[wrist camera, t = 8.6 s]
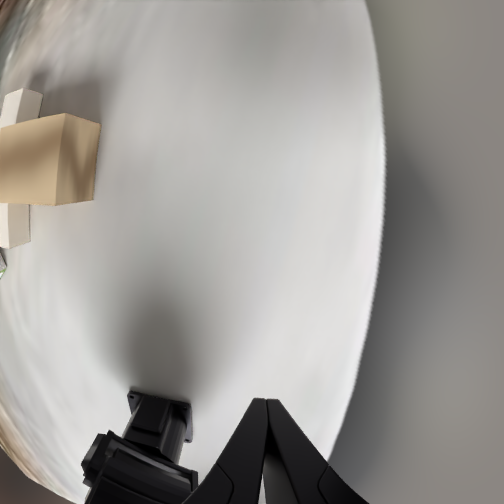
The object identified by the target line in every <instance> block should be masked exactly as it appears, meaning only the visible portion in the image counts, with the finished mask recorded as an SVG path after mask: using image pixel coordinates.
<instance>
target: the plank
mask: <svg viewBox="0 0 504 504" xmlns="http://www.w3.org/2000/svg"><path fill="white" fill-rule="evenodd" d="M42 98H43V94H41V93H38V92H35V91H32V90H29V89H26V88H22V89H19V90H16V91H14V92H12V93H9V94H7V95H6V96H5V100H4V104H3V108H2V113H1V118H0V129H1V128H2V127H6V126H9V125H13V124H17V123H21V122H24V121H29V120H33V119H37V118H38V116H39V111H40V107H41V102H42ZM28 242H30V229H29V204H12V203H0V247H3V248H8V249H11V248H13V247H16V246H19V245H22V244H25V243H28Z"/></svg>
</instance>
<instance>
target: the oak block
mask: <svg viewBox="0 0 504 504" xmlns="http://www.w3.org/2000/svg"><path fill="white" fill-rule="evenodd" d="M100 131H101V124H98V123H95V122H92V121H89V120H86V119H83V118H80V117H77V116H74V115H71V114H68V113H62V114H57V115H52V116H47V117H42V118H37V119H33V120H29V121H24V122H21V123H17V124H13V125H9V126H6V127H2V128H1V129H0V203H12V204H33V205H51V206H57V205H63V204H70V203H77V202H83V201H91V200H93V193H94V180H95V169H96V160H97V152H98V144H99V137H100Z"/></svg>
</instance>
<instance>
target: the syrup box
mask: <svg viewBox="0 0 504 504" xmlns="http://www.w3.org/2000/svg"><path fill="white" fill-rule="evenodd" d="M5 270H6V265H5V262H4V260H3V258H2V256H1V253H0V279H1V277H2V275H3V273H4V272H5Z"/></svg>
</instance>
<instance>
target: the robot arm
mask: <svg viewBox="0 0 504 504" xmlns="http://www.w3.org/2000/svg"><path fill="white" fill-rule="evenodd" d="M127 397H128V402H129V406H130V410H131V414H132V416H131V418H130V420H129V422H128V424H127V426H126V428H125V431H124V433H123V435H122V437H119V436H117V435H116V434H114V432H112V431H111V430H109V431H108V433H107V435H106V434H99V433H98V435H97V436H96V438H95V440H94V442H93V444H92V446H91V447H90V449H89V451H88V452H87V454H86V456H85V457H84V459H83V461H82V463H81V466H82V468H83V471H84V474H83V476H85V479H84V481H83V484H85V485H87V486H89V487H90V489H89V491H88V493H87V495H86V498H85V503H84V504H258V500H259V494H260V487H261V480H262V473H263V480H264V489H265V497H266V504H369V503H368V502H367V501H365V500H364V499H363V498H362V497H361V496H359V495H358V494H357V493H356V492H355V491H354V490H353V489H351V488H350V487H349V486H348V485H347V484H346V483H345V482H344V481H343V480H342V479H341V478H340V477H339V475H338V474H337V473H336V472H335V471H334V470H333V468H332V467H331V466H328V465H329V464H328V463H327V461H326V460H325V459H324V458H323V456H322V455H321V454H320V453H319V452H318V450H317V449H316V448H315V447H314V445H313V444H312V443H311V441H310V440H309V439H308V438H307V436H306V435H305V434H304V433H303V431H302V430H301V429H300V427H299V426H298V425H297V423H296V422H295V421H294V419H293V418H292V417H291V415H290V414H289V413H288V411H287V410H286V409H285V407H284V406H283V405H282V403H281V402H280V401H279V400H278V399H265V398H253V400H252V402H251V403H250V405H249V407H248V409H247V411H246V412H245V414H244V416H243V418H242V419H241V421H240V423H239V425H238V426H237V428H236V430H235V431H234V433H233V435H232V436H231V438H230V440H229V441H228V443H227V445H226V446H225V448H224V450H223V451H222V453H221V455H220V456H219V458H218V459H217V461H216V463H215V464H214V465H213V467H212V468H211V470H210V472H209V473H208V474H207V476H206V477H205V479H204V480H203V481H202V483H201V484H200V485H199V486H198V472H197V471H194V470H189V469H187V468H184V467H181V466H179V465H178V463H179V459H180V455H181V451H182V447H183V443H184V442H185V443H191V442H192V417H191V406H190V405H189V404H188V403H183V402H178V401H173V400H168V399H163V398H158V397H154V396H149V395H145V394H141V393H137V392H133V391H129V393H128V394H127ZM185 407H186V408H185Z"/></svg>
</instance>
